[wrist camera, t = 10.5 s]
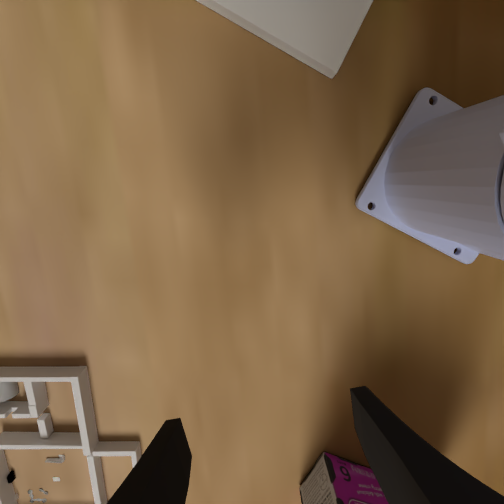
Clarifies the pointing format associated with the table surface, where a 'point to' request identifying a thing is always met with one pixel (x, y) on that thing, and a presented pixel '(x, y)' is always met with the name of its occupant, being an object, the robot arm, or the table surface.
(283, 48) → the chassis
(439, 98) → the robot arm
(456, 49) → the table surface
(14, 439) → the floor plan model
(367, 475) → the candy bar box
